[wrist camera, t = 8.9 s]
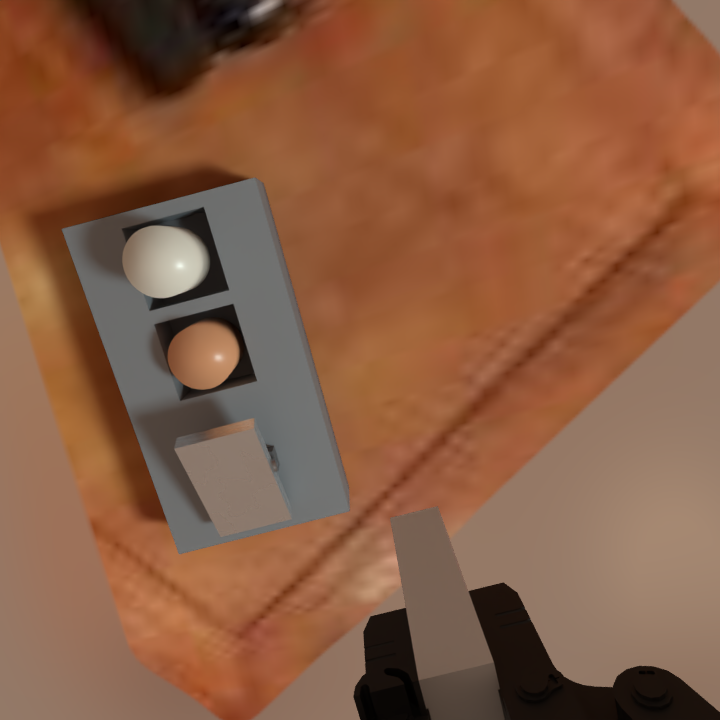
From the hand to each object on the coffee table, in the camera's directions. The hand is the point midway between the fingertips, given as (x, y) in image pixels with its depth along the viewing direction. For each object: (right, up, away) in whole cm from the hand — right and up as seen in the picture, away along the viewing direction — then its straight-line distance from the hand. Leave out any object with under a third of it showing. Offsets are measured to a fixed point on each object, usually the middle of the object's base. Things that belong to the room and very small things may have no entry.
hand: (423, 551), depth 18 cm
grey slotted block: (-13, +5, +29) cm, 33 cm away
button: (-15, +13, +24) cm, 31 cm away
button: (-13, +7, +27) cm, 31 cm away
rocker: (-11, -3, +25) cm, 27 cm away
